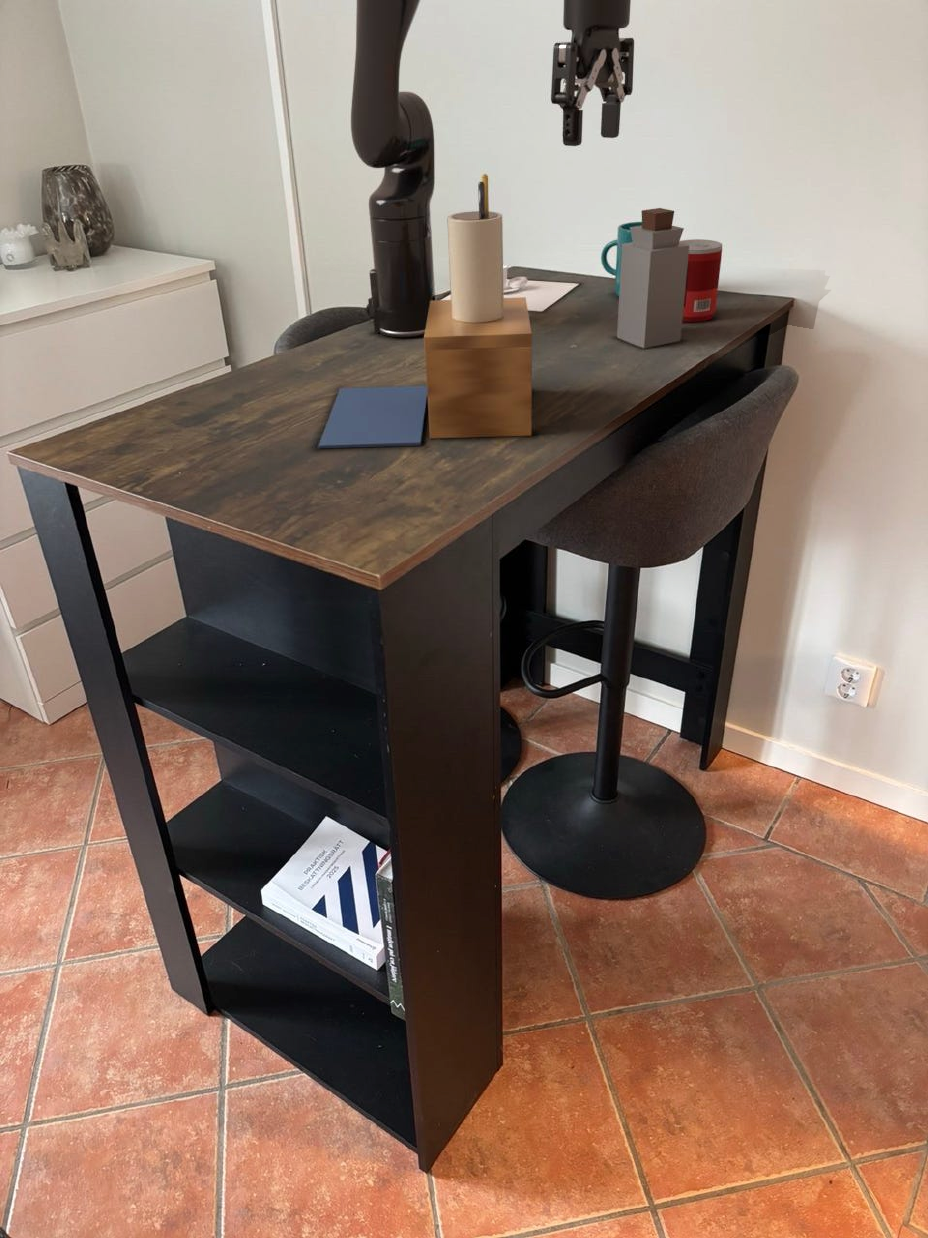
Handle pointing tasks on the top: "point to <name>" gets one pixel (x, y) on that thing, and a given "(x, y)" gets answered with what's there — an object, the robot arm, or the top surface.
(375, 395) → the mat
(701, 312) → the canned food
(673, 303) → the perfume bottle
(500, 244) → the holder
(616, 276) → the cup
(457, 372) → the wooden shelf box
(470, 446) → the top surface
